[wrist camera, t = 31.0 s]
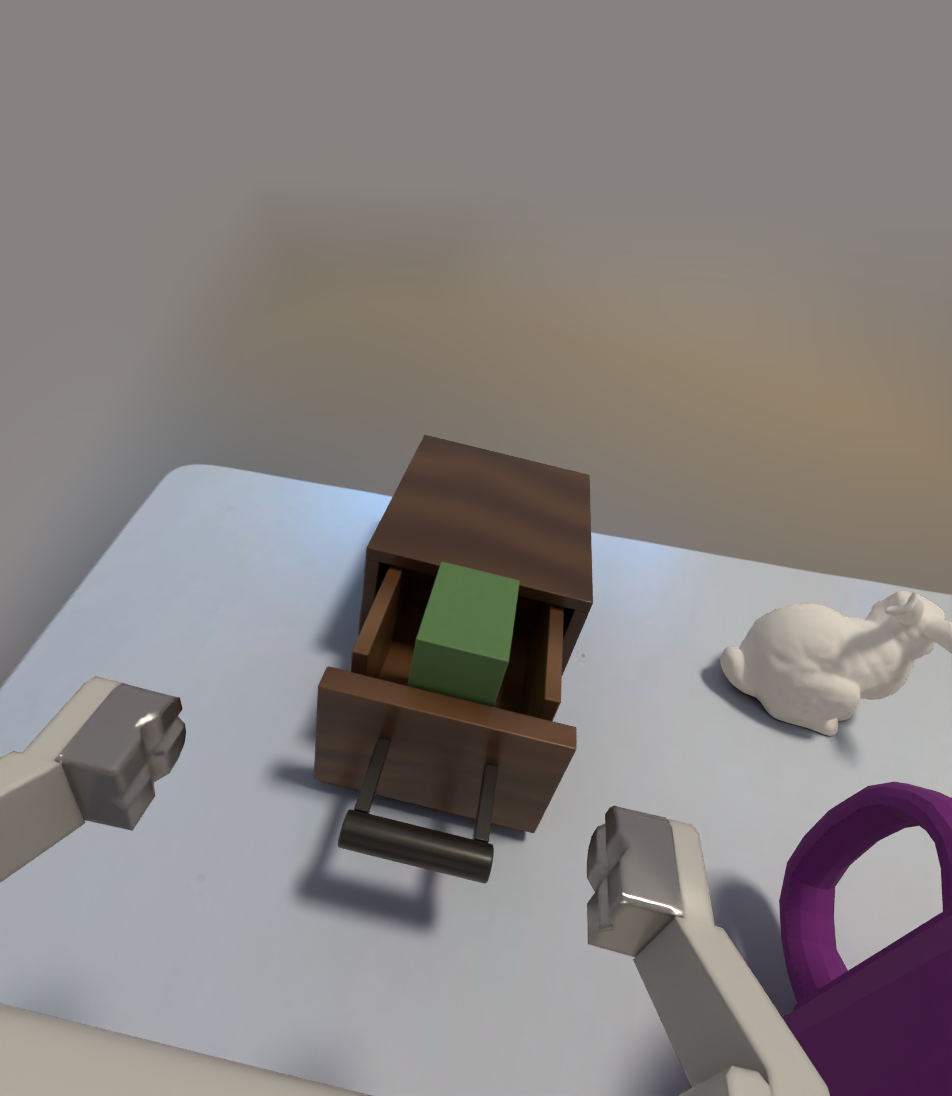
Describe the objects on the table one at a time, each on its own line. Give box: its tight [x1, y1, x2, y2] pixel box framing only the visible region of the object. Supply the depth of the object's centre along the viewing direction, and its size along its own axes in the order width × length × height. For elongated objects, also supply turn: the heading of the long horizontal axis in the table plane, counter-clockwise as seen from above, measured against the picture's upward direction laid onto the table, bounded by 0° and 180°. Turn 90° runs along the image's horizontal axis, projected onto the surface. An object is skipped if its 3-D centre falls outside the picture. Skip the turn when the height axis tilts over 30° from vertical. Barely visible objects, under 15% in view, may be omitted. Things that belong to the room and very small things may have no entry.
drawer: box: [314, 565, 576, 883], centre depth 31 cm, size 18×11×7 cm, turn 171°
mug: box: [779, 782, 952, 1096], centre depth 20 cm, size 9×16×15 cm, turn 171°
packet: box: [407, 562, 520, 707], centre depth 29 cm, size 4×6×9 cm
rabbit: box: [721, 591, 952, 736], centre depth 38 cm, size 12×9×12 cm
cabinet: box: [358, 435, 593, 675], centre depth 40 cm, size 15×13×9 cm
